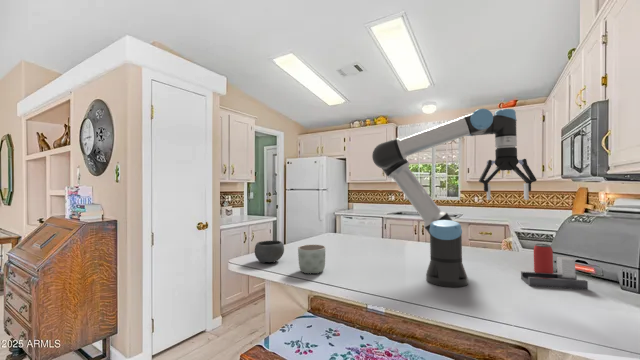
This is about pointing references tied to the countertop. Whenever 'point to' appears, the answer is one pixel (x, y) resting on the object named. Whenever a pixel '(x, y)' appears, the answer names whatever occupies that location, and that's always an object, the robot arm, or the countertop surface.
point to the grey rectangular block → (565, 268)
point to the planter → (311, 258)
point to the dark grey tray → (552, 281)
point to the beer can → (543, 258)
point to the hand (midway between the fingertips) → (507, 199)
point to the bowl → (269, 251)
